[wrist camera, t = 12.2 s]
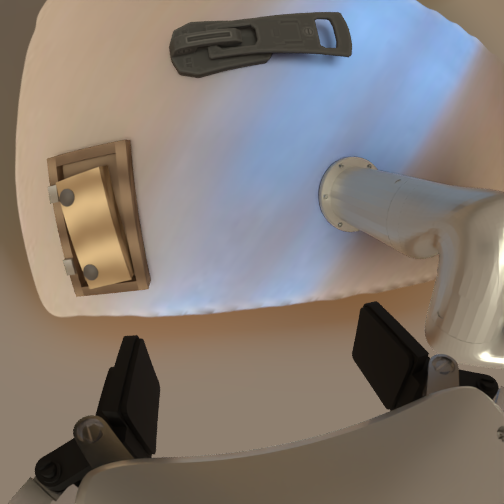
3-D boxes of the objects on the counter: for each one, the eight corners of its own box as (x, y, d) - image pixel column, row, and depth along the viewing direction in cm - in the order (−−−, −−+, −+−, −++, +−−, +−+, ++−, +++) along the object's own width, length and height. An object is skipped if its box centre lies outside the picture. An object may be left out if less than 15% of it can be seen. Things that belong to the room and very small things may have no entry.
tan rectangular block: (67, 179, 33) (54, 183, 29) (107, 165, 34) (98, 166, 30) (97, 277, 39) (89, 289, 35) (136, 268, 40) (131, 280, 36)
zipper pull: (357, 59, 30) (171, 70, 27) (335, 69, 36) (174, 82, 33) (344, 9, 26) (164, 13, 23) (325, 23, 33) (167, 32, 29)
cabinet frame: (55, 157, 32) (44, 159, 29) (130, 140, 34) (123, 139, 31) (82, 287, 40) (74, 299, 36) (150, 280, 42) (147, 291, 38)
